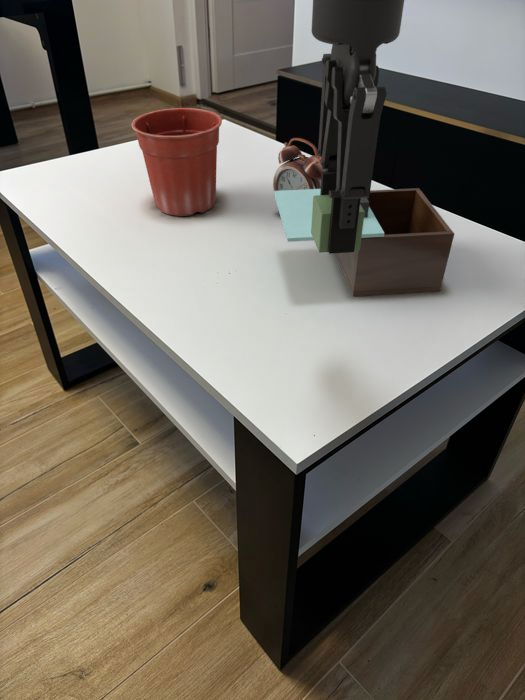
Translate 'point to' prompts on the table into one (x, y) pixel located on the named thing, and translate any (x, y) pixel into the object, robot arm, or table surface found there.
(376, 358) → the table surface
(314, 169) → the alarm clock
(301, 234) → the light blue board
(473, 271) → the table surface
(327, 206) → the block
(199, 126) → the flower pot
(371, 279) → the case
